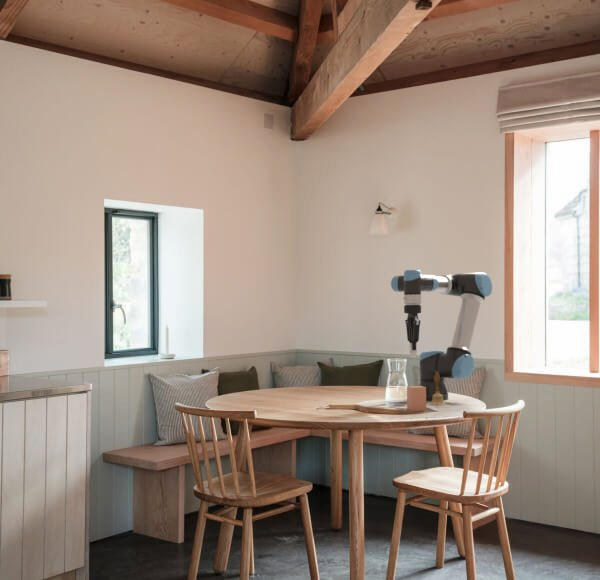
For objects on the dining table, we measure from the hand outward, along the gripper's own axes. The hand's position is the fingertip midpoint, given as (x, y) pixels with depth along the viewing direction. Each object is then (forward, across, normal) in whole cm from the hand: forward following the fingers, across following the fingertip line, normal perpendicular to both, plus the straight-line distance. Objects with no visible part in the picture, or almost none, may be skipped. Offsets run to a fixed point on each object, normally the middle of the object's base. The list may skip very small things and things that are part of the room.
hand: (413, 357), depth 351 cm
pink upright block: (+21, +17, -5) cm, 27 cm away
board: (+22, +17, -5) cm, 29 cm away
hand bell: (+23, +1, +11) cm, 25 cm away
